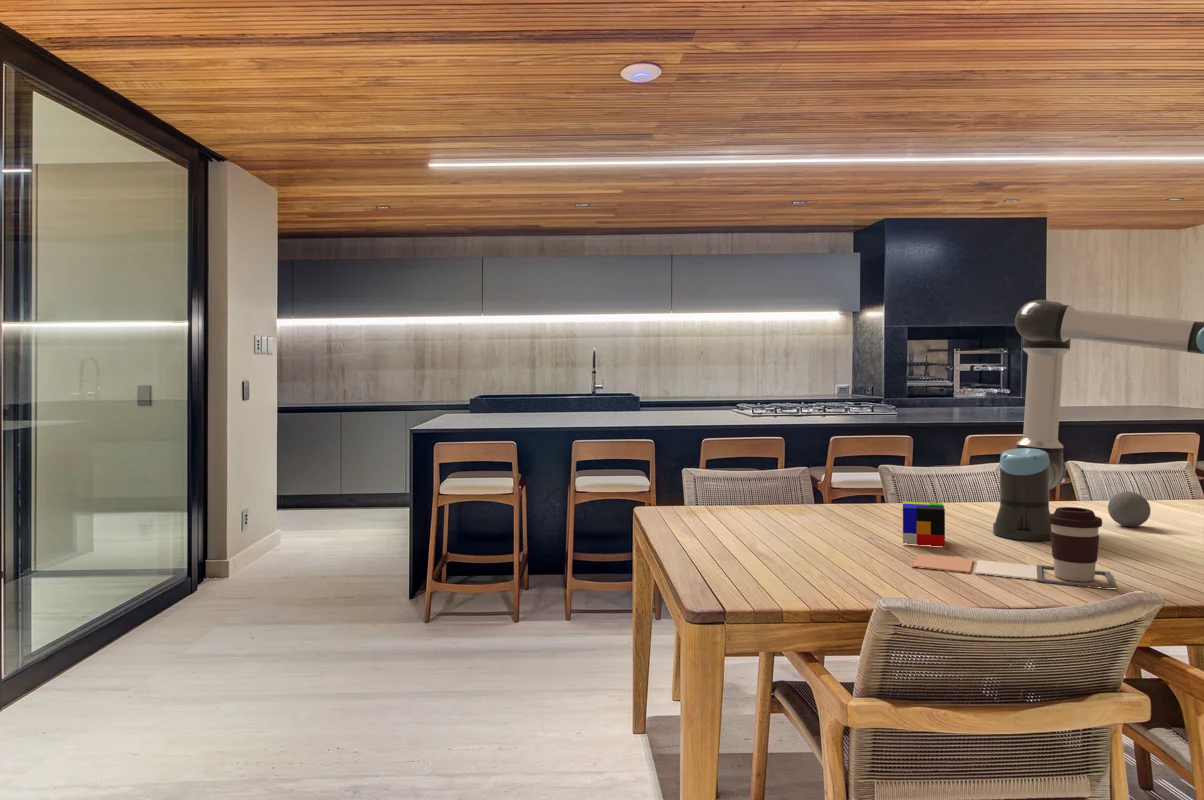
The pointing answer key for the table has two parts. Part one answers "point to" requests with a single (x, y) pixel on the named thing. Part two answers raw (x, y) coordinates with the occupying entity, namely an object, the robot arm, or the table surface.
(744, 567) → the table surface
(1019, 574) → the game board
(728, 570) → the table surface
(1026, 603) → the table surface
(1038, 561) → the table surface
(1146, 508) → the decorative ball
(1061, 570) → the coffee cup
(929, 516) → the puzzle toy
